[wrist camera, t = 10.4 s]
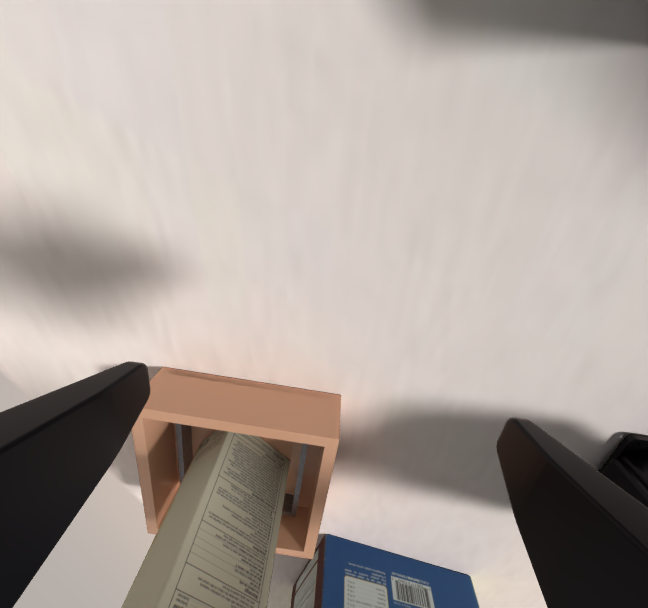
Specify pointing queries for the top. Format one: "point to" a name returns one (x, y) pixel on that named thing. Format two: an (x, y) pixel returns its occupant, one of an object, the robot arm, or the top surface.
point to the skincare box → (217, 529)
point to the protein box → (377, 580)
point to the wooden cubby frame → (245, 418)
